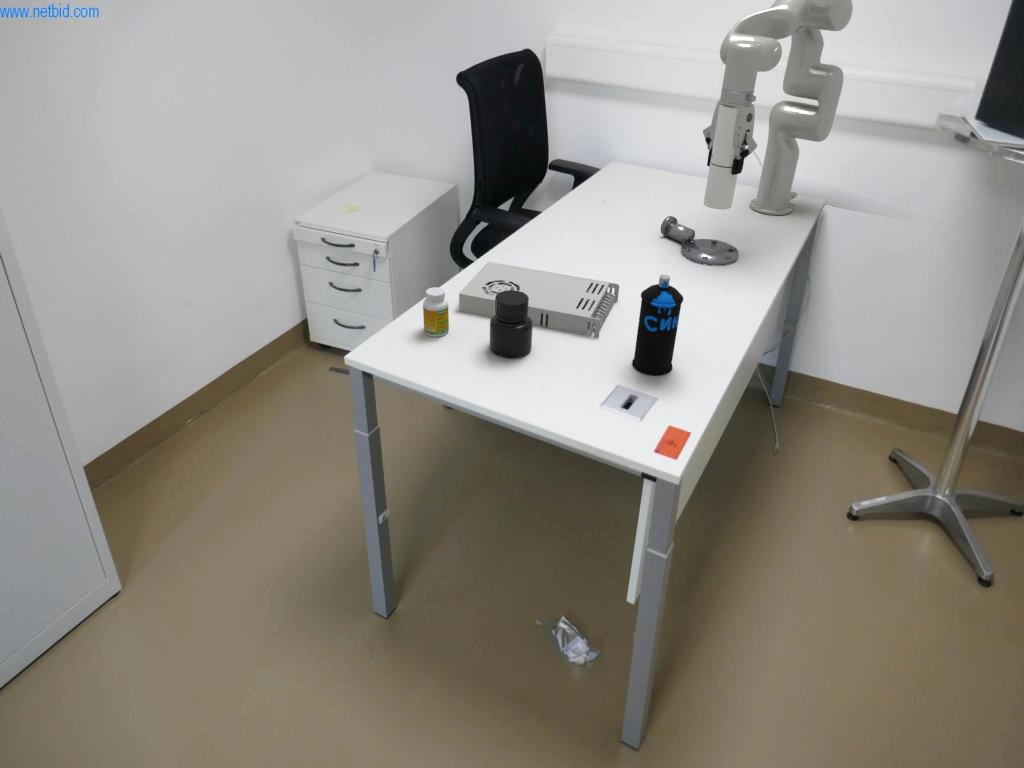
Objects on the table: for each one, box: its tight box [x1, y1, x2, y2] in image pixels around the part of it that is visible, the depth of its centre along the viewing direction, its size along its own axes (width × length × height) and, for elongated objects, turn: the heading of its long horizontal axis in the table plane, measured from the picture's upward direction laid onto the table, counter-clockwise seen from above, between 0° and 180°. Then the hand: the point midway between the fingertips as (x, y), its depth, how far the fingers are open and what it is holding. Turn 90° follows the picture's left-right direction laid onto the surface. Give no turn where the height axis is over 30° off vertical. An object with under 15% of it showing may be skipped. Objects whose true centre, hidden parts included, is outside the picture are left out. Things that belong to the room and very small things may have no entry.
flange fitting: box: [660, 215, 739, 266], centre depth 212 cm, size 23×15×6 cm, turn 37°
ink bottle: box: [489, 290, 533, 359], centre depth 163 cm, size 10×9×12 cm
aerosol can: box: [631, 274, 684, 376], centre depth 156 cm, size 8×8×20 cm
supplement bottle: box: [422, 286, 450, 338], centre depth 169 cm, size 5×5×10 cm
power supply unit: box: [458, 261, 620, 338], centre depth 182 cm, size 19×33×5 cm, turn 71°
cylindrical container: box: [703, 104, 743, 210], centre depth 196 cm, size 7×7×25 cm
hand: (723, 169), depth 198 cm, fingers closed on cylindrical container, 7 cm apart
